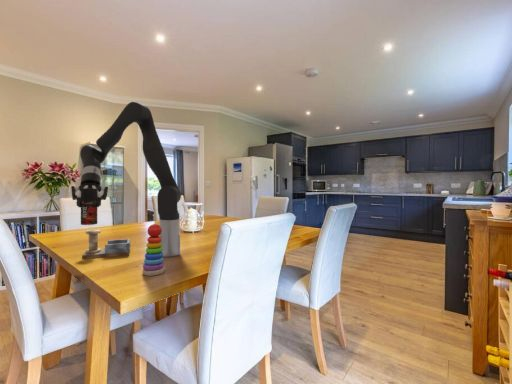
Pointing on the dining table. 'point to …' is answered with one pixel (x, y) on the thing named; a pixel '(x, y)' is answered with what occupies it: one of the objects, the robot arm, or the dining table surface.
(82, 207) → the deodorant
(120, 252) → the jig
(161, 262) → the stacking toy
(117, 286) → the dining table surface
